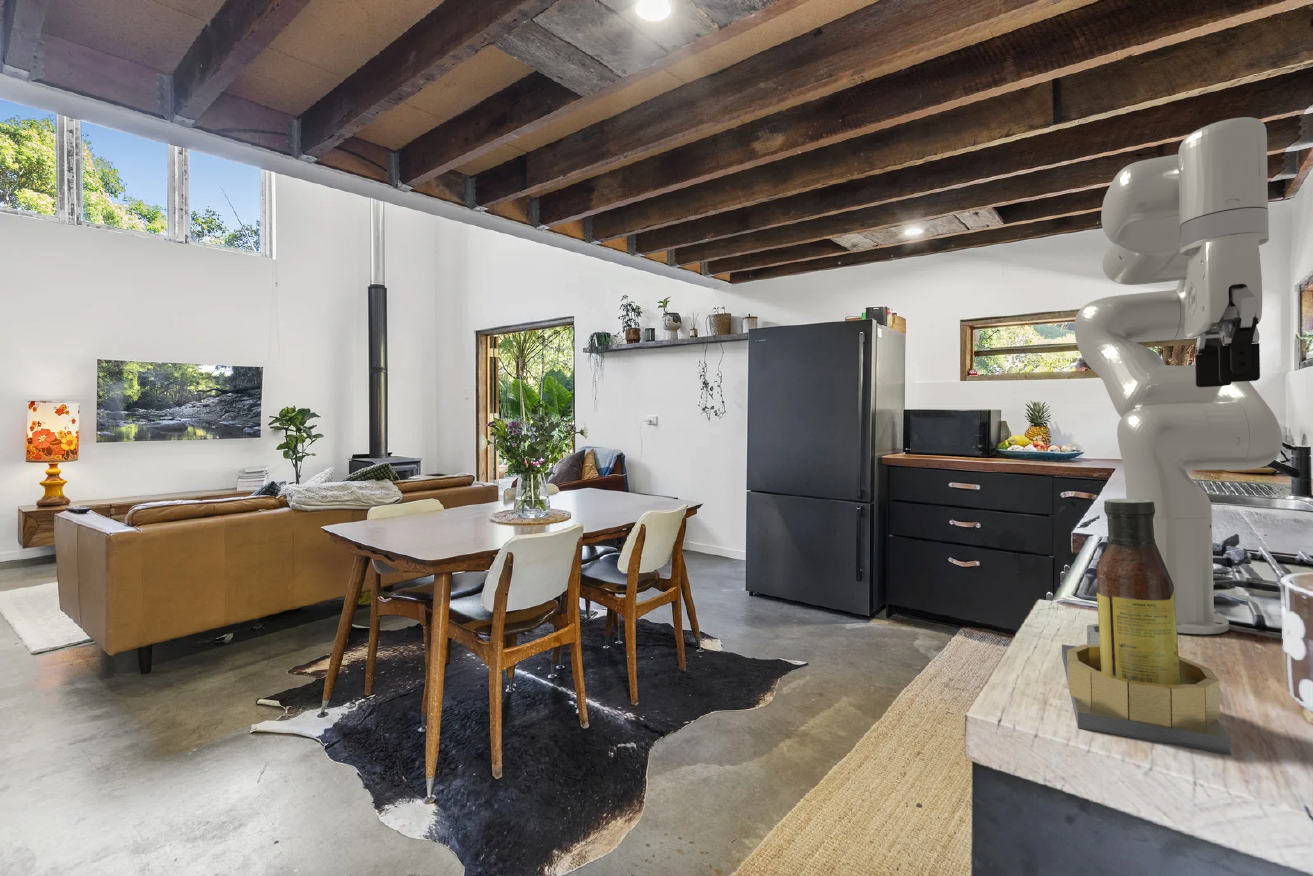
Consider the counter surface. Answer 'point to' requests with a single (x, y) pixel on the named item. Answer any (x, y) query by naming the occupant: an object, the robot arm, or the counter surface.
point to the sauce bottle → (1136, 599)
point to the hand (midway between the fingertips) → (1225, 384)
